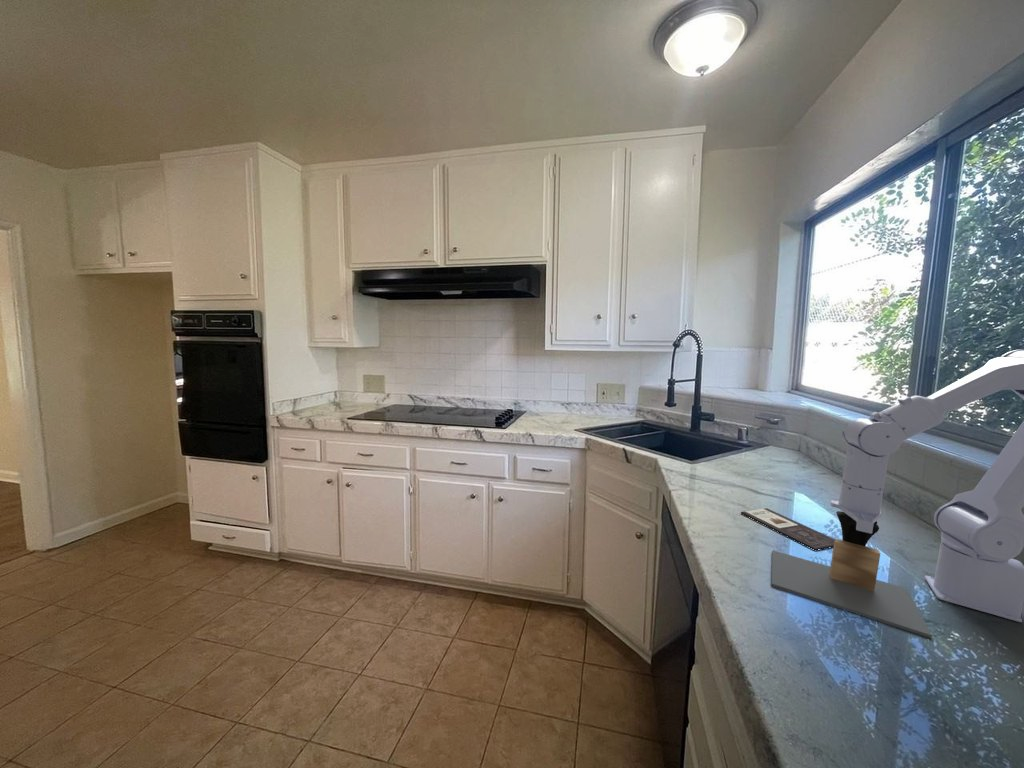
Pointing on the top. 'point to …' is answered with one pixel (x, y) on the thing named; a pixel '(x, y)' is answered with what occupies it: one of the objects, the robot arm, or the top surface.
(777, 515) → the chocolate bar
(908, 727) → the top surface
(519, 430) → the top surface
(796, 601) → the top surface
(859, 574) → the oak tile
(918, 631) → the rubber mat
